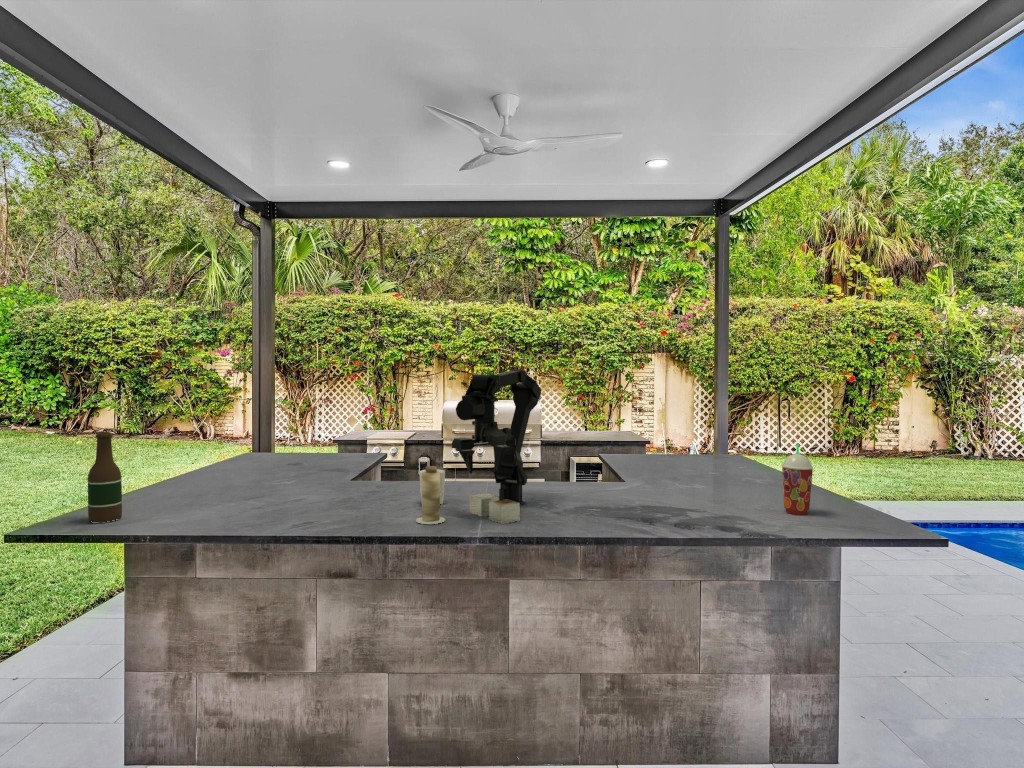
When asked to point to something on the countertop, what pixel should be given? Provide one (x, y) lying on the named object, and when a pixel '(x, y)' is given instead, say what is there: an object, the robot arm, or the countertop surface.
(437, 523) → the coaster
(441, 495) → the white cup
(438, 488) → the pepper mill
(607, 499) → the countertop surface
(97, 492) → the beer bottle
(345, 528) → the countertop surface
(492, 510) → the spice tin
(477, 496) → the spice tin
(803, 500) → the smoothie
